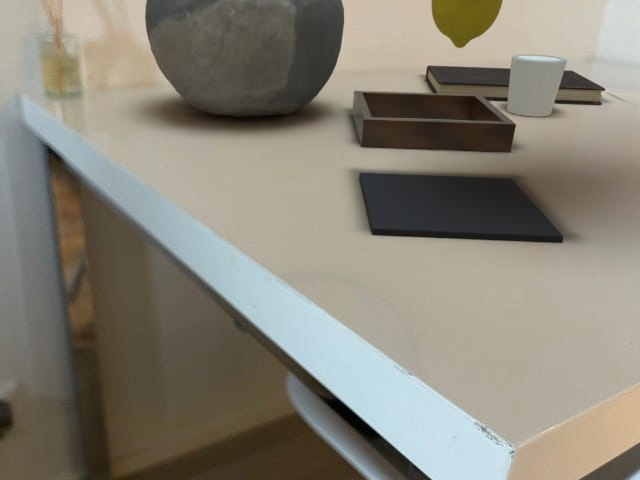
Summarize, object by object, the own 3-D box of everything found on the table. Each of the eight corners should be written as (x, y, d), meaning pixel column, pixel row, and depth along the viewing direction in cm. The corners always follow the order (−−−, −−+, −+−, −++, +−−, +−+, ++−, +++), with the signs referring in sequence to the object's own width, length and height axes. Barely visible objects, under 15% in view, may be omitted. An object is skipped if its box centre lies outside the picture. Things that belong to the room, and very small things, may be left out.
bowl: (157, 137, 74) (150, -10, 67) (144, 94, 95) (138, -21, 88) (365, 130, 79) (378, -8, 72) (309, 90, 100) (315, -19, 93)
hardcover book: (601, 104, 94) (605, 88, 93) (436, 98, 97) (438, 81, 96) (568, 84, 108) (571, 70, 107) (425, 79, 111) (427, 64, 110)
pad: (510, 183, 61) (511, 177, 61) (562, 242, 49) (564, 236, 49) (359, 177, 62) (359, 172, 62) (372, 234, 50) (372, 228, 50)
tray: (476, 118, 85) (480, 94, 84) (510, 152, 71) (516, 124, 70) (352, 114, 86) (354, 90, 85) (361, 146, 72) (363, 119, 71)
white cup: (499, 105, 93) (508, 52, 90) (550, 108, 92) (562, 55, 88) (505, 115, 87) (515, 60, 84) (560, 119, 86) (573, 62, 82)
